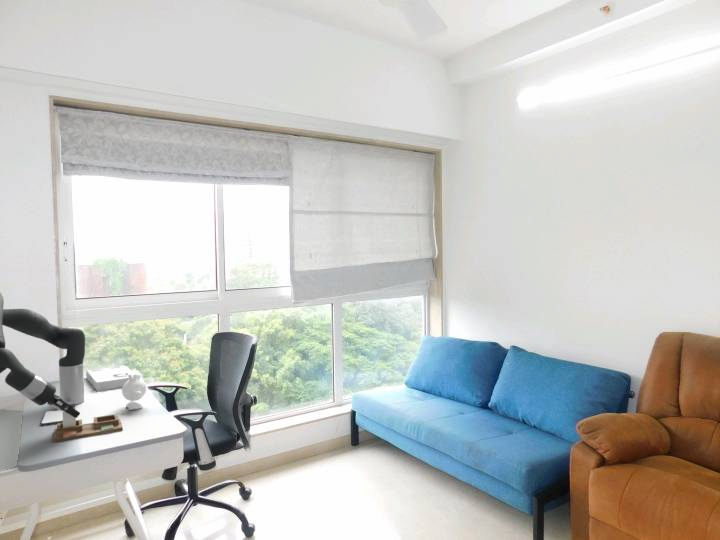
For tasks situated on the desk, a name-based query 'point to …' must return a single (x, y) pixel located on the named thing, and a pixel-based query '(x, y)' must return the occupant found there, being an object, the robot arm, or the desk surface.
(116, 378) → the power supply unit
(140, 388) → the toy robot
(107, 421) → the panel
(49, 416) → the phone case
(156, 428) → the desk surface
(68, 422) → the grey-capped white pillar
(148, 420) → the desk surface
